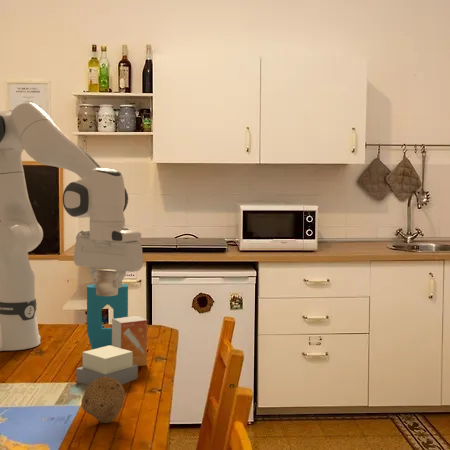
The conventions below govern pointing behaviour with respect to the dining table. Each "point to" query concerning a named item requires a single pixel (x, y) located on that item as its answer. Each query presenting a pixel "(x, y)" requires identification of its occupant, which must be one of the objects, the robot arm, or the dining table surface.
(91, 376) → the tower base
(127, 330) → the small box
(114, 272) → the beige rounded cylinder
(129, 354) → the tower top
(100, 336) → the block
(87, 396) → the natural sponge
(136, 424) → the dining table surface
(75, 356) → the dining table surface
